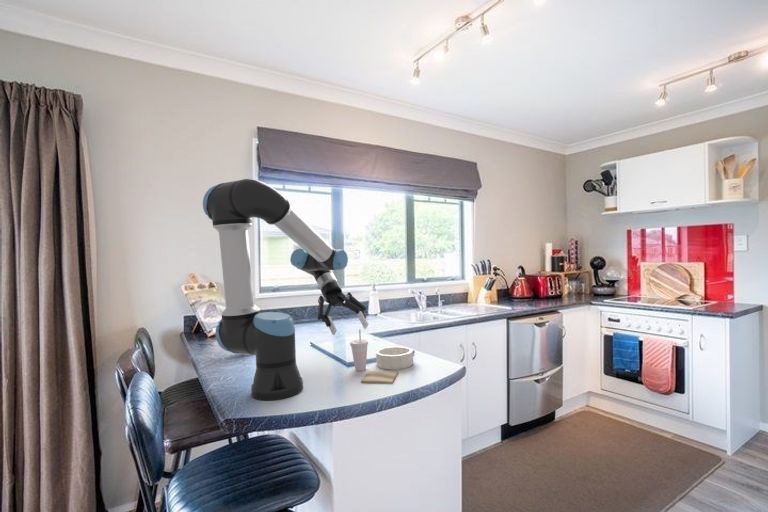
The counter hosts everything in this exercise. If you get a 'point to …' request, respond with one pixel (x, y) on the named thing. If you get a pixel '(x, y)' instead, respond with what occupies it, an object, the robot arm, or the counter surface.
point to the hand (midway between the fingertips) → (351, 329)
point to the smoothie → (359, 353)
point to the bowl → (394, 358)
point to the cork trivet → (380, 377)
